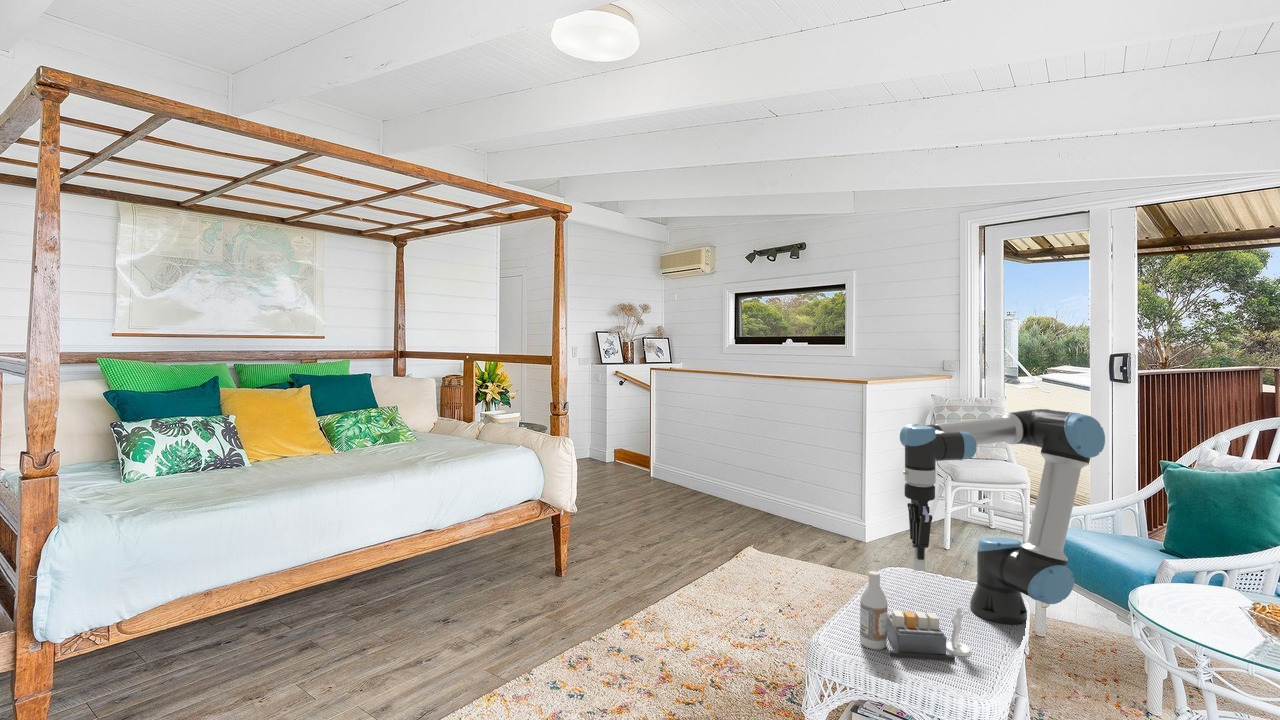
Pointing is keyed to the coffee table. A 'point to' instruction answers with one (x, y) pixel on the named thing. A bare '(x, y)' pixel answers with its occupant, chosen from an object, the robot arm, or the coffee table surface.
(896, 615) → the cream small block
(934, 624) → the cream rectangular block
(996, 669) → the coffee table surface
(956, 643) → the figurine
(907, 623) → the paddle
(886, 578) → the coffee table surface
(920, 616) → the paddle
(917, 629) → the breaker panel
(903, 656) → the dark grey slat
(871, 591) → the bath foam
